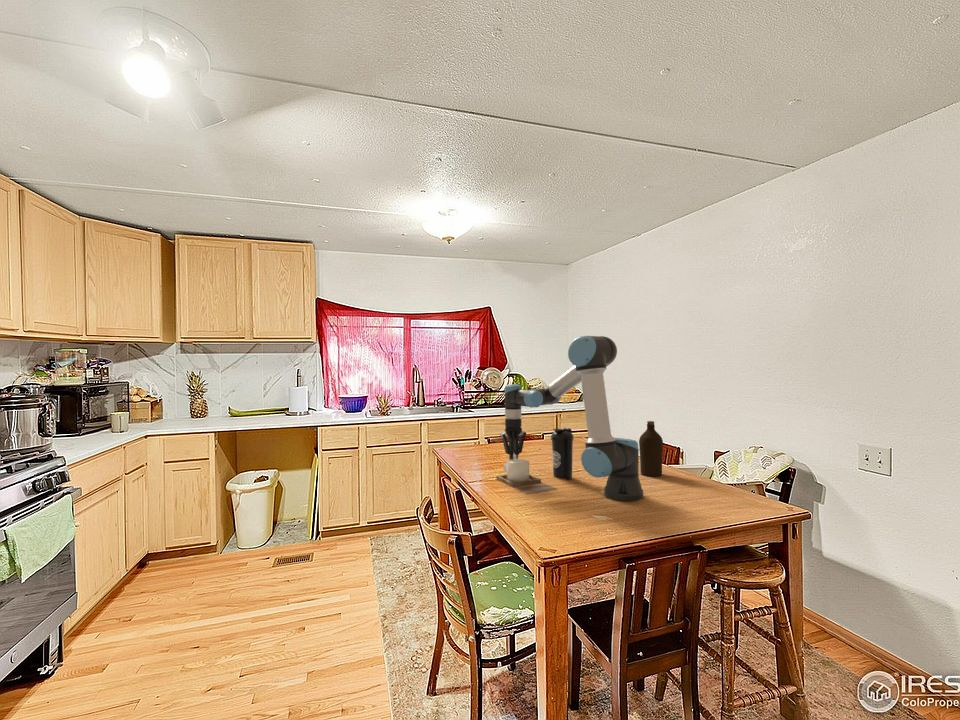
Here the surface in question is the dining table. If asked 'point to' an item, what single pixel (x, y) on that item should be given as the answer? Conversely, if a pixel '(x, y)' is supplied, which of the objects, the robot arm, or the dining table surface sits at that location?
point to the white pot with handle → (517, 470)
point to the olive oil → (651, 452)
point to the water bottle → (562, 453)
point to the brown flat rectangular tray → (527, 485)
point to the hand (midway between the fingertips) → (513, 468)
